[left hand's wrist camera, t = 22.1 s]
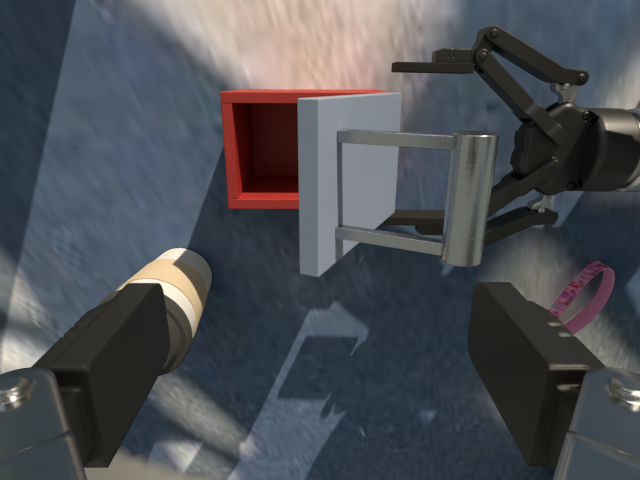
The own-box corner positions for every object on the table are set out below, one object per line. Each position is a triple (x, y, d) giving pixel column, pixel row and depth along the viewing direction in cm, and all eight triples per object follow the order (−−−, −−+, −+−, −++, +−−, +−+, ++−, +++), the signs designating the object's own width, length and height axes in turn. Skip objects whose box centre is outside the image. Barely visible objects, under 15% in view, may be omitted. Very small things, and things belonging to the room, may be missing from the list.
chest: (248, 181, 48) (228, 209, 38) (243, 89, 45) (220, 91, 34) (372, 182, 48) (386, 209, 38) (376, 89, 45) (393, 92, 34)
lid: (299, 274, 25) (470, 310, 21) (296, 98, 22) (499, 102, 18) (380, 210, 37) (498, 226, 33) (387, 92, 34) (518, 94, 30)
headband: (559, 340, 55) (568, 350, 53) (533, 327, 54) (541, 337, 52) (617, 270, 51) (629, 278, 49) (590, 256, 51) (601, 263, 49)
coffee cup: (189, 321, 54) (143, 406, 40) (129, 275, 52) (58, 348, 38) (236, 274, 52) (205, 346, 37) (176, 223, 49) (119, 280, 35)
